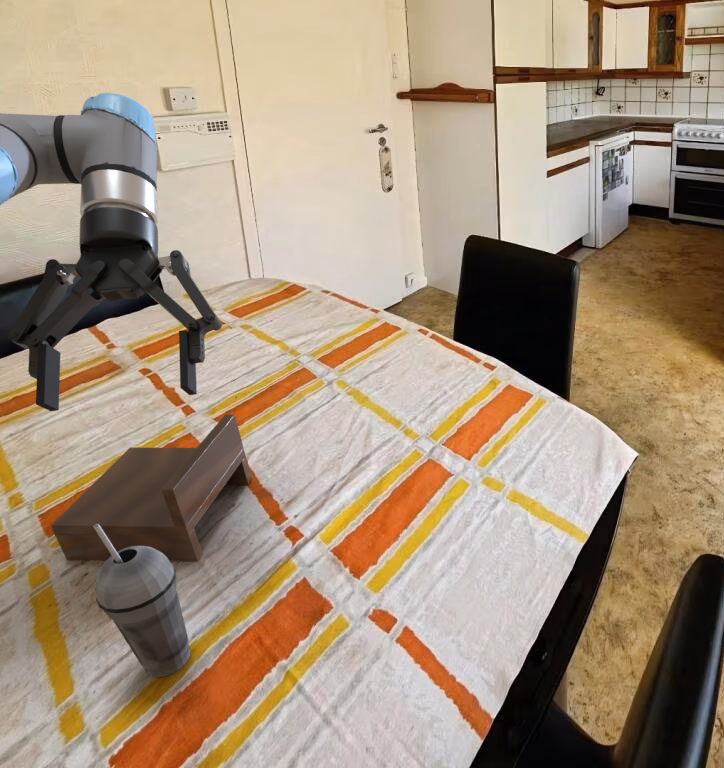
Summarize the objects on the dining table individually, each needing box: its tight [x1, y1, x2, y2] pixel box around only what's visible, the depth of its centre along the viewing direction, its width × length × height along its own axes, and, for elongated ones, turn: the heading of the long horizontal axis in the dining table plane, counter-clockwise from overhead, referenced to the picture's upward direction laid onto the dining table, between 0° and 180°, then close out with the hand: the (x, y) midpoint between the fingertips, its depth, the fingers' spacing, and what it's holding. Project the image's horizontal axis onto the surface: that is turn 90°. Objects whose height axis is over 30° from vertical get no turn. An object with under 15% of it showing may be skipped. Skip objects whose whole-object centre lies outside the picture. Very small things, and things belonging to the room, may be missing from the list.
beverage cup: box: [94, 524, 191, 678], centre depth 65 cm, size 7×7×20 cm
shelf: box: [50, 414, 253, 562], centre depth 88 cm, size 18×18×12 cm
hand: (119, 399), depth 65 cm, fingers open, 13 cm apart
